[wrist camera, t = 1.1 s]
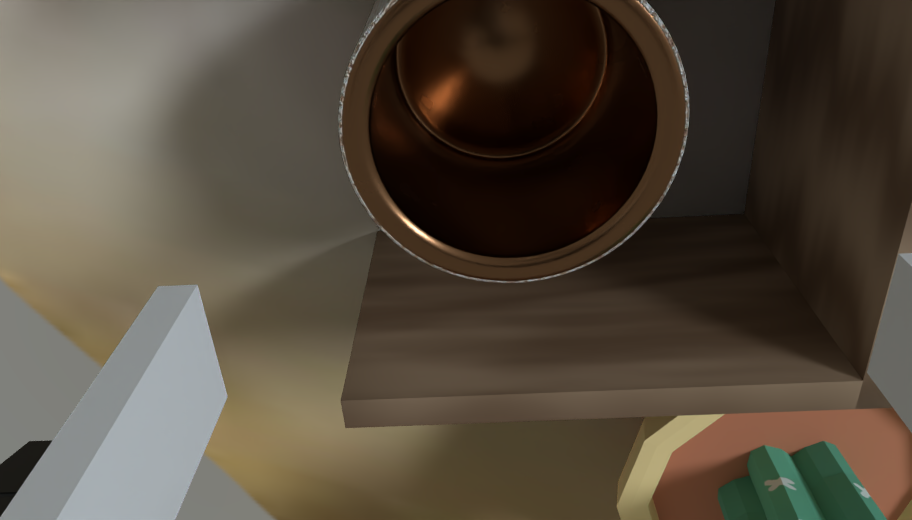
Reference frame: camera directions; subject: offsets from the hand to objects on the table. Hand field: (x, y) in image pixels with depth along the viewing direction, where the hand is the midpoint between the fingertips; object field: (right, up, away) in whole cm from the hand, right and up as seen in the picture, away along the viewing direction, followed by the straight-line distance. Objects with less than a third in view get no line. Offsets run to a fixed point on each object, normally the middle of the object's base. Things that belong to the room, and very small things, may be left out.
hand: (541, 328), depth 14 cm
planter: (0, +10, +17) cm, 20 cm away
